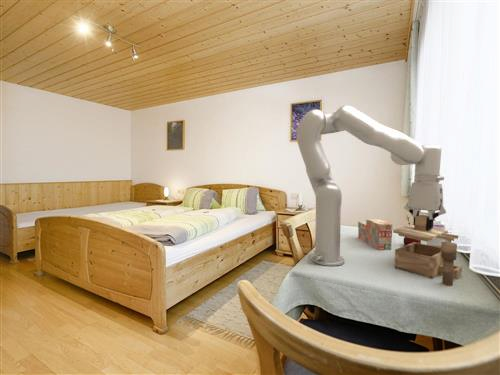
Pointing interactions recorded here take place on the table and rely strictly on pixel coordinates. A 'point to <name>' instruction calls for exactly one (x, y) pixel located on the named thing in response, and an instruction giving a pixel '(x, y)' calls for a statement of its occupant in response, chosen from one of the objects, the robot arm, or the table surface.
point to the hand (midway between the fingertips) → (422, 228)
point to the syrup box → (437, 241)
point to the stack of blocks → (376, 233)
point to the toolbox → (422, 260)
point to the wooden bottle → (448, 261)
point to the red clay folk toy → (410, 240)
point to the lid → (423, 231)
